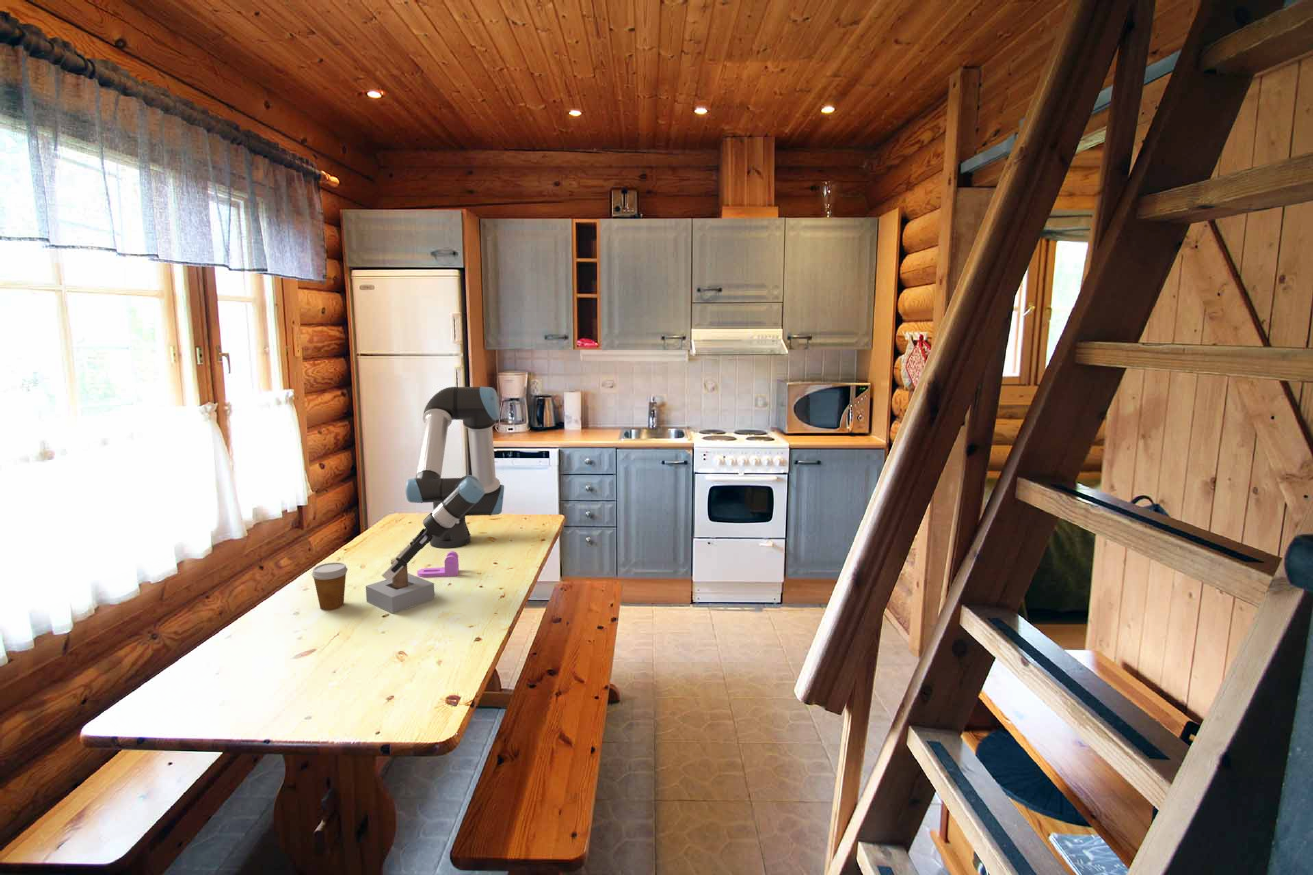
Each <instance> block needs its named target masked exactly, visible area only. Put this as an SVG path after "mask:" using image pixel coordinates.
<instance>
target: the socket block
mask: <svg viewBox="0 0 1313 875" xmlns="http://www.w3.org/2000/svg"><path fill="white" fill-rule="evenodd" d="M365 595H366V596H365V598H366V603H368V604H370V605H373V606H375V607H377V608H380V609H381V610H384V611H385V612H388V613H391V614H393V615H394V614H396V613H399V612H401V611H402V612H403V611H404V610H407V609H410V608H414V607H417V606H418V605H421V604H424V603H427V602H430V601H432V600H435V599H436V597H435V595H436V594H435V583H434V582H432V581H429V580H426V579H424V578H423V577H418V576H416V575H414V574H412V573H408V586H407V587H404V588H401V589H398V590H396V589H393V584H392V579H391V580H390V581H387V580H386V579H384V580H380V581H378V582H374V583H371V584H368V585H365Z"/></svg>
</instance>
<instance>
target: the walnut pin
mask: <svg viewBox="0 0 1313 875" xmlns="http://www.w3.org/2000/svg"><path fill="white" fill-rule="evenodd" d="M396 558H397V557H396V556H395V557H392V558H391V559H390V564H391V565H392V564H393V563H394V562H395V561H396ZM398 558H400V557H398ZM404 561H405V560H404ZM405 562H406V561H405ZM391 565H390V566H391ZM392 584H393V589H396V590H398V589H401V588H404V587H407V586H408V564H407V565H406V566H404V567H403V568H402V569H401V570H400V571H399V572H398V573H397V574H396V575H395V576H394V577H393V578H392Z"/></svg>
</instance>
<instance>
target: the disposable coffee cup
mask: <svg viewBox="0 0 1313 875" xmlns="http://www.w3.org/2000/svg"><path fill="white" fill-rule="evenodd" d="M347 573H348V567H347V565H346V564H345V563H343V562H336V561H335V562H326V563H322V564H321V563H320V564H319V565H316V566H314V567H313V568H312V572H311V576H312V578H313V579H314V580H313V581H314V586H315V591H316V595H317V600H318V604H319V609H320V610H323V611H334V610H336V609H340V608H343V606H344V602H345V590H346V580H347V579H346V578H347V577H346V576H347Z"/></svg>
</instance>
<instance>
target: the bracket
mask: <svg viewBox="0 0 1313 875" xmlns="http://www.w3.org/2000/svg"><path fill="white" fill-rule="evenodd" d="M443 563H444V566H443V567H424V568H421V569H419V570H417V571H416V574H417V577H419V578H422V579H424V578H443V577H445V578H447V577H457V576H458V573H459V570H460V568H459V554H458V553H457V552H456V551H449V552H448V553H447V555H446V557H445V558H444V562H443Z"/></svg>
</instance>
